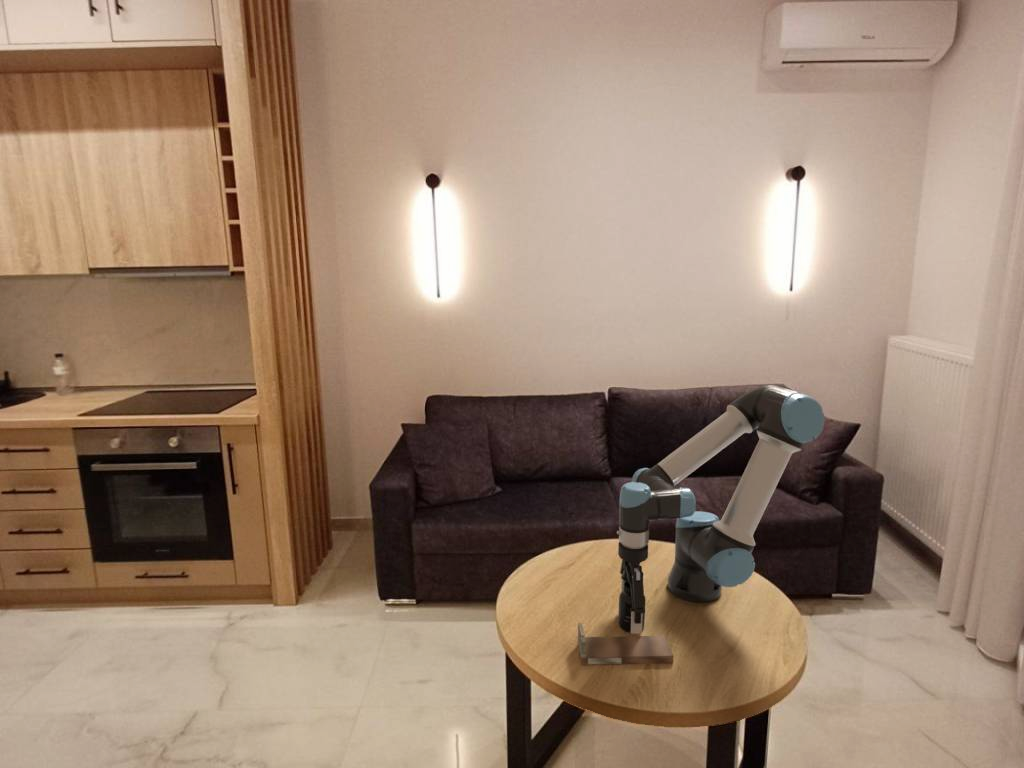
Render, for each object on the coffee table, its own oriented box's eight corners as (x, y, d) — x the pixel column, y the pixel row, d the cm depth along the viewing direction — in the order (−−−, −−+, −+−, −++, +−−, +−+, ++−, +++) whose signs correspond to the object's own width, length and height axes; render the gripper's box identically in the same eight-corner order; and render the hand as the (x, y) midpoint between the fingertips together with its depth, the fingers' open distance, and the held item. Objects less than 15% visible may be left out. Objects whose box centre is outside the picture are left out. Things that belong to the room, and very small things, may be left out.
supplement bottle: (629, 636, 158) (630, 594, 155) (613, 623, 164) (613, 581, 161) (650, 628, 161) (651, 587, 159) (633, 615, 167) (634, 575, 164)
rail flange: (664, 642, 155) (665, 620, 154) (673, 663, 147) (674, 640, 146) (577, 643, 155) (578, 621, 154) (581, 665, 147) (581, 642, 146)
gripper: (610, 522, 170) (609, 592, 174) (628, 566, 145) (625, 646, 150) (637, 522, 170) (635, 592, 174) (659, 566, 145) (656, 646, 150)
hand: (631, 617), depth 162 cm, fingers open, 13 cm apart
